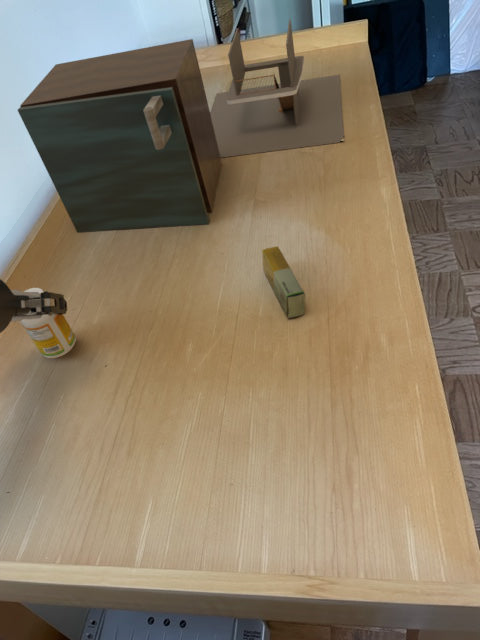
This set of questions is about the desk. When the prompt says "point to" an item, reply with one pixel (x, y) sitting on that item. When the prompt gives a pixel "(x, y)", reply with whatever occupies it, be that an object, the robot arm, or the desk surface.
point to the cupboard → (141, 75)
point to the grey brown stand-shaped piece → (276, 107)
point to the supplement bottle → (50, 333)
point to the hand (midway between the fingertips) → (43, 308)
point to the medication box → (283, 282)
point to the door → (119, 160)
